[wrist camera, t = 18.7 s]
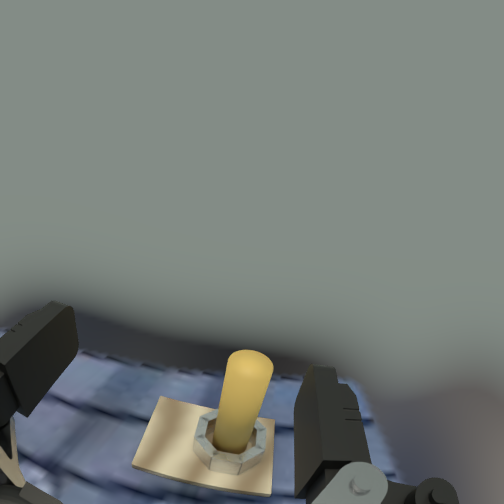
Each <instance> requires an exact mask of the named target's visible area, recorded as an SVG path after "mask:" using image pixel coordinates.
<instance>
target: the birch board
mask: <svg viewBox="0 0 504 504" xmlns="http://www.w3.org/2000/svg"><path fill="white" fill-rule="evenodd" d="M214 410H216V409H211V408H207V407H202V406H198V405H194V404H189V403H185V402H181V401H177V400H174V399H170V398H166V397H163V396H160V399H159V401H158V403H157V405H156V408H155V410H154V412H153V415H152V417H151V419H150V422H149V424H148V426H147V429H146V431H145V433H144V436H143V438H142V440H141V443H140V445H139V448H138V450H137V452H136V455H135V457H134V460H133V462H132V467H133V468H135V469H138V470H141V471H145V472H148V473H151V474H154V475H158V476H161V477H165V478H168V479H172V480H176V481H180V482H184V483H188V484H192V485H196V486H201V487H206V488H211V489H216V490H222V491H227V492H234V493H240V494H247V495H255V496H264V497H270V495H271V486H272V467H273V447H274V424H275V420H274V419H267V418H260V417H257V420H258V421H259V422H260V423H261V424H262V425H263V426H264V427H266V429H267V431H266V446H265V451H264V454H263V456H262V458H261V461H260V463H259V464H257V465H256V466H254V467H252V468H251V469H249V470H247V471H245V472H244V473H242V474H240V475H231V474H225V473H219V472H214V471H210V470H208V469H207V468H206V466H205V465H204V464H203V463H202V462H201V460H200V459H199V458H198V457H197V455H196V454H195V453H194V452H193V444H194V435H195V432H196V428H197V424H198V421H199V417H200V416H202V415H204V414H206V413H209V412H211V411H214ZM213 435H214V432H213V433H211V434H209V435H207V436H206V438H207V440H208V441H209V442H210V443H211V444H212V440H213ZM250 448H252V443H251V442H250V441H249V442H248V444H247V447H246V450H245V451H247V450H249V449H250Z"/></svg>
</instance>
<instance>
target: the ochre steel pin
mask: <svg viewBox="0 0 504 504" xmlns="http://www.w3.org/2000/svg"><path fill="white" fill-rule="evenodd" d="M272 372H273V364H272V362H271V361H270V359H269V358H268V357H266V356H265V355H263V354H262V353H259V352H256V351H252V350H240V351H237V352H234V353H233V354H232V355H231V356H230V357H229V359H228V364H227V369H226V374H225V379H224V384H223V389H222V394H221V399H220V404H219V409H218V414H217V419H216V424H215V430H214V435H213V440H212V445H213V447H214V448H215V449H216V450H217V451H221V452H226V453H232V454H238V455H239V454H241V453H243V452H245V450H246V447H247V444H248V442H249V439H250V436H251V433H252V431H253V428H254V425H255V422H256V419H257V417H258V414H259V411H260V408H261V405H262V402H263V399H264V396H265V393H266V390H267V387H268V384H269V381H270V378H271V375H272Z"/></svg>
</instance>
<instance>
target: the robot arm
mask: <svg viewBox="0 0 504 504" xmlns="http://www.w3.org/2000/svg"><path fill="white" fill-rule="evenodd" d="M78 346H79V342H78V335H77V329H76V323H75V315H74V310H73V308H72V307H71V306H68V305H65V304H63V303H60V302H57V301H51V302H50V303H48V304H47V305H46V306H45V307H43V308H42V309H41V310H37V311H35V312H33V313H31V314H28V315H26V316H25V317H24V318H23V319H22V320H21V321H19V322H18V325H17V324H16V325H15V326H14V327H12V328H11V331H8V332H7V333H5V334H4V335H3V336H2V337H1V338H0V504H63V503H62V502H61V501H59V500H58V499H56V498H54V497H52V496H50V495H49V494H47V493H45V492H43V491H42V490H40V489H38V488H37V487H35V486H33V485H32V484H30V483H28V482H27V481H26V482H25V480H24V477H23V475H22V473H21V471H20V468H19V464H18V456H17V446H16V435H15V421H14V417H13V414H14V413H15V412H16V411H17V412H19V413H20V414H22V415H24V416H25V417H27V418H28V416H29V415H30V414H31V412H32V411H33V410H34V408H35V407H36V406H37V405H38V403H39V402H40V401H41V399H42V398H43V397H44V395H45V394H46V393H47V392H48V390H49V389H50V388H51V387H52V385H53V384H54V383H55V381H56V380H57V379H58V378H59V376H60V375H61V374H62V373H63V372H64V370H65V369H66V368H67V367H68V365H69V364H70V363H71V362H72V361H73V359H74V358H75V356H76V354H77V351H78ZM361 420H362V418H361V414H360V412H359V406H358V402H357V397H356V395H355V394H354V392H353V391H352V390H351V388H350V387H349V386H348V384H340V383H338V379H337V375H336V370H335V368H334V367H332V366H323V365H316V364H310V366H309V367H308V370H307V372H306V375H305V377H304V380H303V383H302V385H301V388H300V390H299V393H298V395H297V398H296V402H295V407H294V460H295V498H299V499H306V504H459V501H458V497H457V494H456V491H455V489H454V487H453V486H452V485H451V484H450V483H449V482H447V481H446V480H444V479H440V478H429V479H427V480H425V481H423V482H422V483H421V484H420V485H418V486H417V487H416V486H411V485H405V484H400V483H395V482H392V481H389V480H387V479H386V477H385V475H384V473H383V472H382V471H381V470H380V469H379V468H377V467H376V466H374V465H372V463H371V459H370V454H369V450H368V445H367V440H366V436H365V431H364V427H363V423H362V422H361Z"/></svg>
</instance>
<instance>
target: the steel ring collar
mask: <svg viewBox="0 0 504 504" xmlns="http://www.w3.org/2000/svg"><path fill="white" fill-rule="evenodd" d="M218 409H219V408H218ZM218 409H216V410H214V411H211V412H209V413H206V414H204V415H202V416H200V417H199V421H198V424H197V428H196V432H195V435H194V444H193V452H194V453H195V454H196V455H197V457H198V458H199V459H200V460H201V462H202V463H203V464H204V465H205V466H206V468H207V469H208V470H210V471H214V472H219V473H225V474H231V475H240V474H242V473H244V472H245V471H247V470H249V469H251V468H252V467H254V466H256V465H257V464H259V463H260V461H261V458H262V456H263V454H264V451H265V446H266V431H267V429H266V427H264V426H263V425H262V424H261V423H260V422H259V421H258V420H257V419H256V422H255V425H254V428H253V431H252V433H251V436H250V439H249V441H250V442H251V443H252V448H250V449H249V450H247V451H245V452H243V453H241V454H239V455H238V454H232V453H226V452H221V451H217V450H216V449H215V448H214V447H213V445H212V444H211V443H210V442H209V441H208V440H207V438H206V436H207V435H209V434H211V433H213V432H214V430H215V424H216V419H217V414H218Z"/></svg>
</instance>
